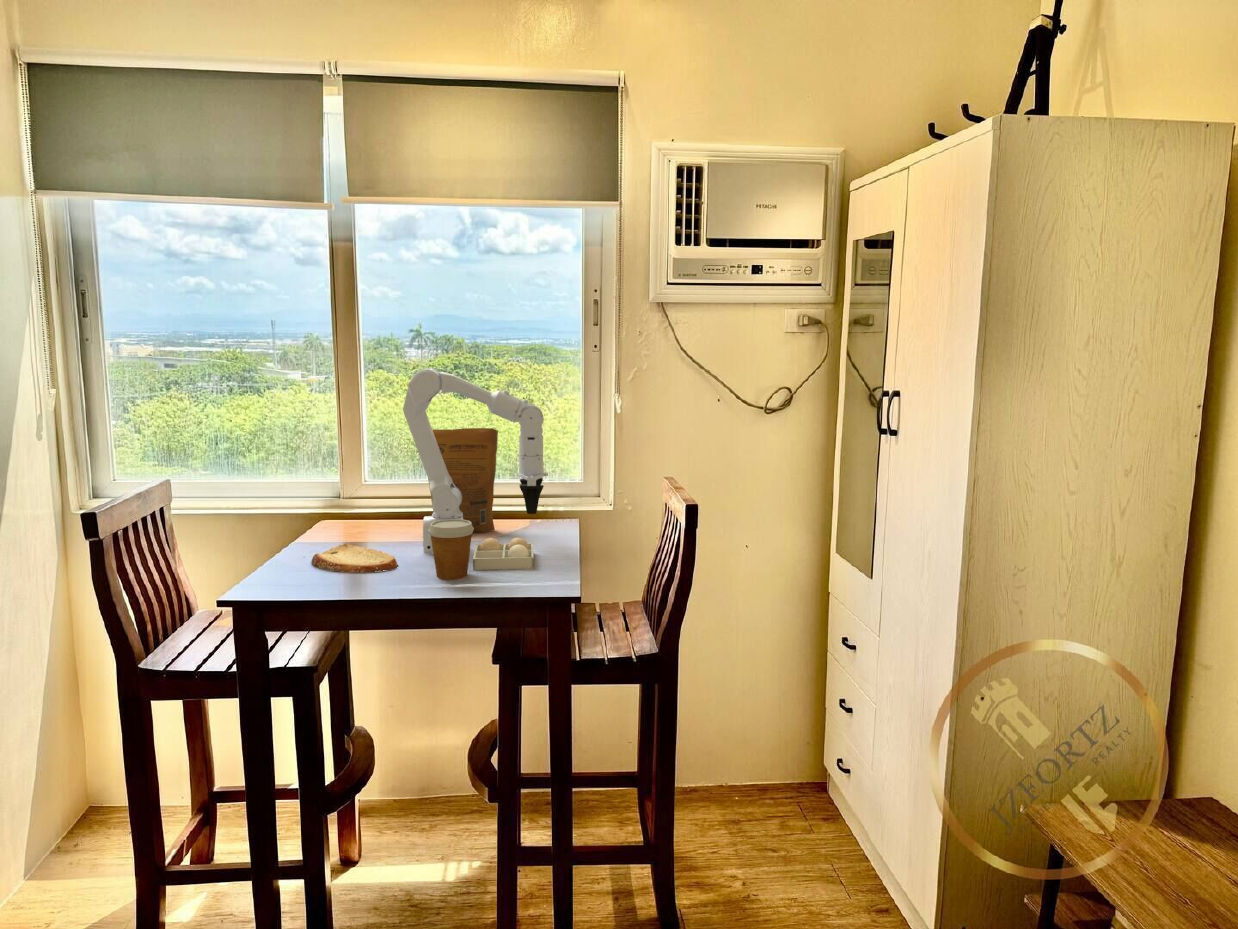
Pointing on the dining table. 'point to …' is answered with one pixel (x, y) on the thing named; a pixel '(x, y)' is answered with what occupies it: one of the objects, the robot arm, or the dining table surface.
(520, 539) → the brown egg right
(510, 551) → the white egg
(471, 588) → the dining table surface
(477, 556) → the egg carton
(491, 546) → the brown egg left
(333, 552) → the slice of bread
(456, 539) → the disposable coffee cup
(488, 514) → the pancake mix bag
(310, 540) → the dining table surface
